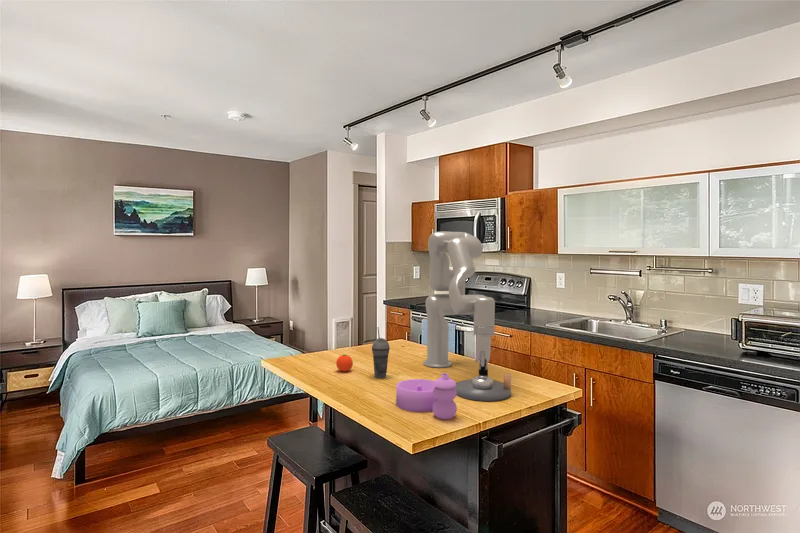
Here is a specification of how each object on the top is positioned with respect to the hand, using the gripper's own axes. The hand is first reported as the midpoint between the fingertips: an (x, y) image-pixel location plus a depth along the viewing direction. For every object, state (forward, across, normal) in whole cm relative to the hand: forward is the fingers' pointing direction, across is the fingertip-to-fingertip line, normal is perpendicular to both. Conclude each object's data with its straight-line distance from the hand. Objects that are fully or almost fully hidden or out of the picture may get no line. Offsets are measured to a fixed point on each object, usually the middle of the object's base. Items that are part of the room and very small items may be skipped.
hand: (483, 379), depth 175 cm
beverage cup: (+4, -6, -41) cm, 42 cm away
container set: (+4, +27, -16) cm, 31 cm away
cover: (+1, +5, 0) cm, 5 cm away
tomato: (+4, -11, -58) cm, 59 cm away
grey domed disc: (+3, +5, 0) cm, 6 cm away
